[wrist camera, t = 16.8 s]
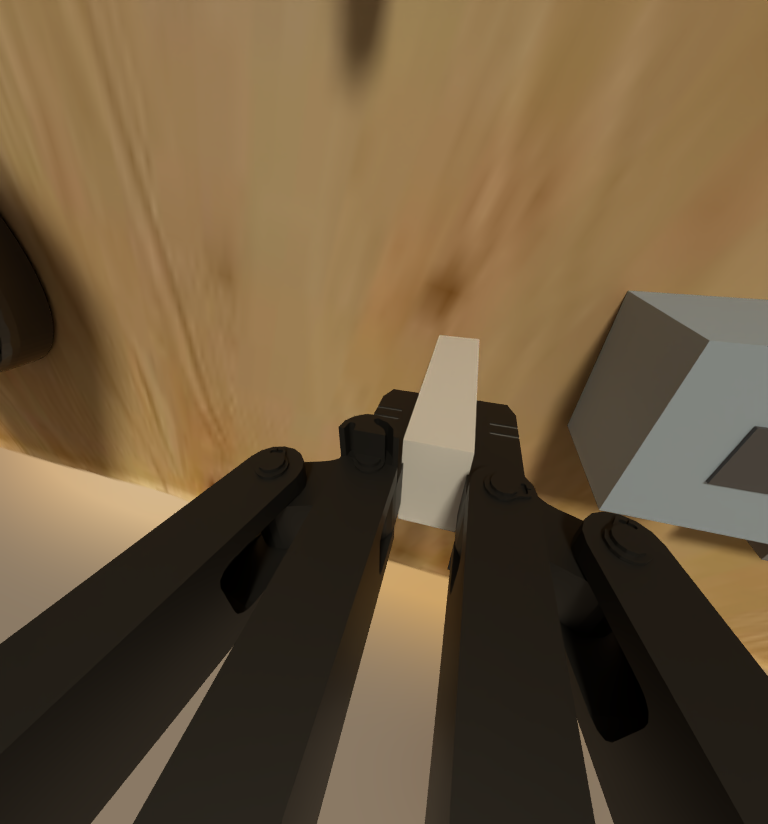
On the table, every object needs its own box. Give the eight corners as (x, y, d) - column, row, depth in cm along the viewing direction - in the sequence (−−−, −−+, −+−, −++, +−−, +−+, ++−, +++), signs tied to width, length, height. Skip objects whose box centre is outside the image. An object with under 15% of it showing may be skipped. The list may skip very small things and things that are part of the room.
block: (566, 424, 14) (600, 512, 10) (626, 290, 11) (712, 342, 7) (719, 447, 13) (827, 558, 9) (841, 304, 10) (1103, 378, 6)
